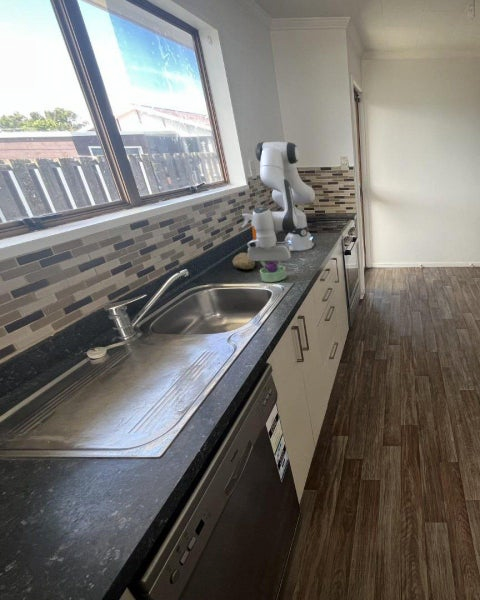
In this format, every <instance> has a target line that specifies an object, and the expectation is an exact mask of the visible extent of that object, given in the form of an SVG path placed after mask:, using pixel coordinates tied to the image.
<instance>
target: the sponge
mask: <svg viewBox="0 0 480 600" xmlns="http://www.w3.org/2000/svg"><path fill="white" fill-rule="evenodd" d="M231 263H232V266H233V267H235V268H237V269H240V270H246V271H247V270H248V271H249V270H251V269H254V268H255V266H256V261H250V260H249V257H248V252H239V253H238V254H236V255H235V256H234V257H233V258H232V261H231Z"/></svg>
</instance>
